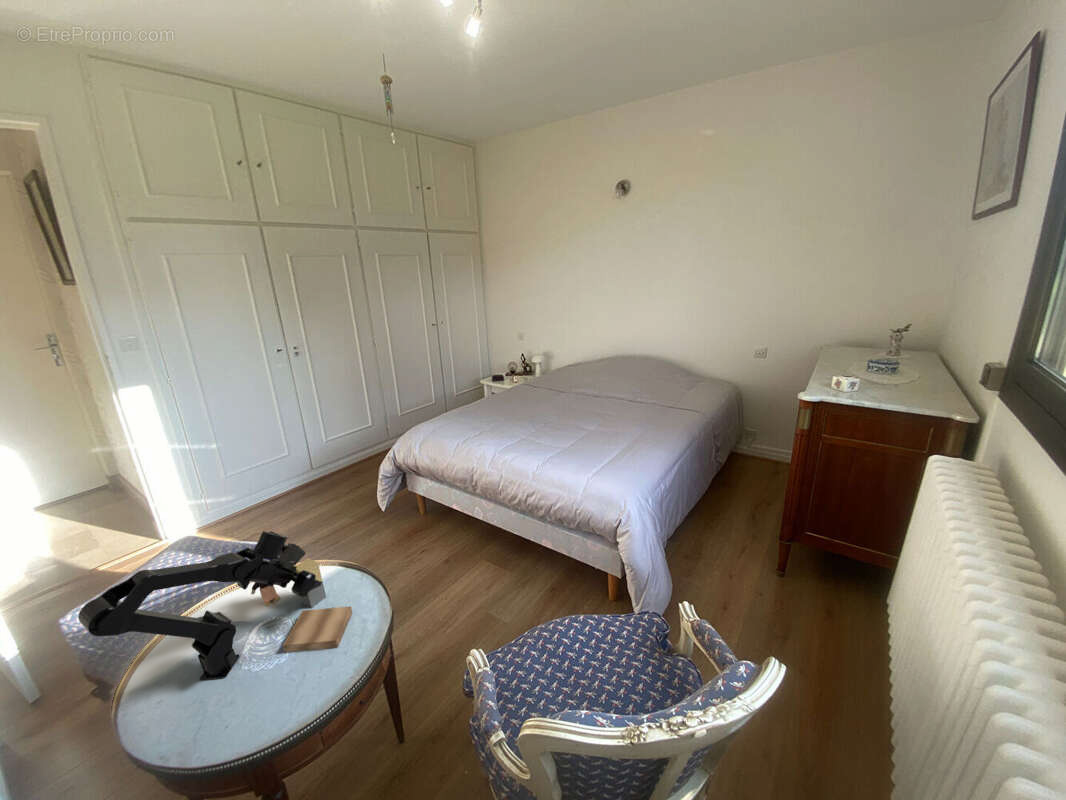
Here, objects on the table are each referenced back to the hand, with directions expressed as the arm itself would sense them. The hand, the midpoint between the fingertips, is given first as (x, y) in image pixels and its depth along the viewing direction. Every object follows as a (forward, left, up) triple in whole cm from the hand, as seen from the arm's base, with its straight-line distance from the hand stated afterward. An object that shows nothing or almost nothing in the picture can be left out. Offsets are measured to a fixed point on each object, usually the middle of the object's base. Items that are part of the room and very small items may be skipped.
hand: (311, 579), depth 132 cm
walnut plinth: (+7, -14, -7) cm, 17 cm away
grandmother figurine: (-14, 0, -7) cm, 16 cm away
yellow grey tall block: (0, -1, -7) cm, 7 cm away
